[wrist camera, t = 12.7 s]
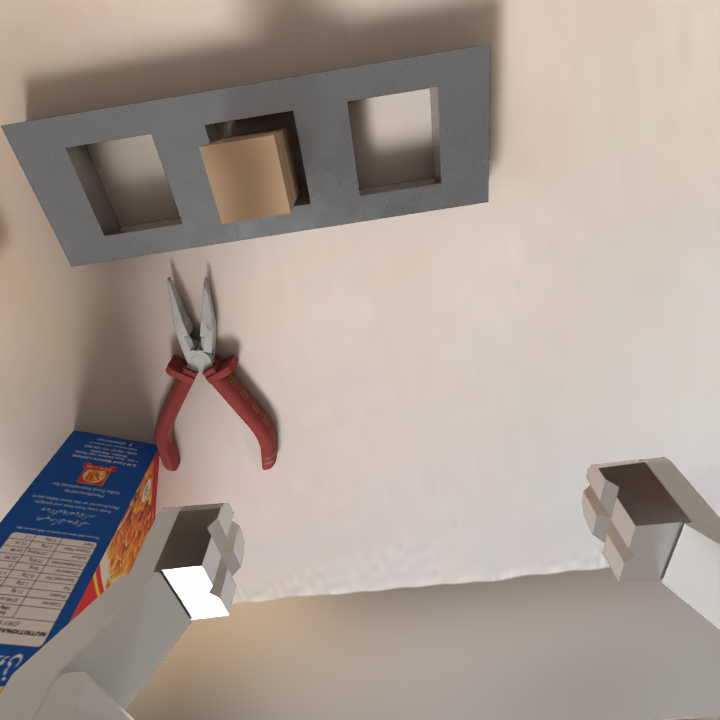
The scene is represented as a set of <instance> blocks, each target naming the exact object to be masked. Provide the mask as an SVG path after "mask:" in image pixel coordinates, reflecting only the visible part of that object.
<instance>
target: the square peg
mask: <svg viewBox="0 0 720 720" xmlns="http://www.w3.org/2000/svg"><path fill="white" fill-rule="evenodd" d="M199 149H200V152H201V156H202V159H203V162H204V166H205V169H206V172H207V176H208V179H209V182H210V186H211V189H212V192H213V196H214V199H215V202H216V206H217V209H218V212H219V216H220V219H221V222H222V224H224V223H231V222H237V221H244V220H250V219H256V218H263V217H269V216H276V215H282V214H289V213H291V211H292V209H293V206H294V204H295V201H296V199H297V196H298V194H299V192H300V189H301V188H300V183H299V178H298V173H297V168H296V163H295V158H294V153H293V148H292V143H291V138H290V133H289V128H288V127H286V128H280V129H274V130H267V131H261V132H255V133H249V134H243V135H236V136H231V137H228V138H225V139H222V140H219V141H216V142H213V143H210V144H207V145H204V146H201V147H199Z"/></svg>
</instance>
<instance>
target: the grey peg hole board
mask: <svg viewBox="0 0 720 720" xmlns="http://www.w3.org/2000/svg"><path fill="white" fill-rule="evenodd" d="M427 88H430V96H431V117H432V138H433V159H434V178H429V179H423V180H417V181H410V182H404V183H398V184H391V185H385V186H379V187H372V188H366V189H360V190H359V186H358V178H357V171H356V163H355V156H354V148H353V141H352V133H351V126H350V118H349V111H348V103H347V101H354V100H360V99H366V98H372V97H378V96H384V95H390V94H396V93H402V92H408V91H414V90H420V89H427ZM489 107H490V44H487V45H481V46H475V47H469V48H463V49H457V50H451V51H445V52H439V53H433V54H427V55H421V56H415V57H409V58H403V59H397V60H392V61H386V62H380V63H374V64H368V65H362V66H356V67H350V68H344V69H338V70H332V71H326V72H320V73H314V74H308V75H302V76H296V77H290V78H284V79H278V80H272V81H266V82H260V83H254V84H248V85H242V86H236V87H230V88H224V89H218V90H212V91H206V92H200V93H194V94H188V95H182V96H176V97H170V98H164V99H158V100H152V101H146V102H140V103H134V104H128V105H122V106H116V107H110V108H104V109H98V110H92V111H86V112H80V113H74V114H68V115H62V116H56V117H50V118H44V119H38V120H32V121H26V122H20V123H14V124H8V125H2V126H1V127H2V129H3V131H4V133H5V135H6V137H7V139H8V141H9V143H10V145H11V147H12V149H13V151H14V153H15V155H16V157H17V159H18V161H19V163H20V165H21V167H22V169H23V171H24V173H25V175H26V177H27V179H28V181H29V183H30V185H31V187H32V189H33V191H34V193H35V195H36V197H37V199H38V201H39V203H40V205H41V207H42V209H43V210H44V212H45V214H46V216H47V218H48V220H49V222H50V224H51V226H52V228H53V230H54V232H55V234H56V236H57V238H58V240H59V242H60V244H61V246H62V248H63V250H64V252H65V254H66V256H67V258H68V260H69V262H70V264H71V266H78V265H85V264H91V263H98V262H104V261H111V260H117V259H123V258H130V257H136V256H143V255H149V254H156V253H162V252H169V251H175V250H181V249H188V248H194V247H201V246H207V245H214V244H220V243H227V242H233V241H239V240H246V239H252V238H259V237H265V236H272V235H278V234H285V233H291V232H298V231H304V230H310V229H317V228H323V227H330V226H336V225H343V224H349V223H356V222H362V221H368V220H375V219H381V218H388V217H394V216H401V215H407V214H414V213H420V212H427V211H433V210H439V209H446V208H452V207H459V206H465V205H472V204H478V203H485V202H488V184H489ZM287 111H293V113H294V118H295V124H296V129H297V134H298V139H299V145H300V150H301V155H302V160H303V165H304V171H305V176H306V181H307V186H308V192H309V198H303V199H296V201H295V204H294V206H293V209H292V211H291V213H289V214H282V215H276V216H269V217H263V218H256V219H250V220H244V221H237V222H231V223H224V224H222V222H221V219H220V216H219V212H218V209H217V206H216V202H215V199H214V196H213V192H212V189H211V186H210V182H209V179H208V176H207V172H206V169H205V166H204V162H203V159H202V156H201V152H200V149H199V147H201V146H204V145H207V144H210V143H213V142H216V141H219V138H218V135H217V131H216V128H215V124H214V123H220V122H226V121H232V120H238V119H244V118H250V117H256V116H262V115H268V114H275V113H281V112H287ZM147 134H152V137H153V140H154V143H155V145H156V148H157V151H158V154H159V157H160V160H161V163H162V166H163V168H164V171H165V174H166V177H167V180H168V183H169V186H170V189H171V191H172V194H173V197H174V200H175V203H176V206H177V209H178V212H179V214H180V217H181V218H176V219H169V220H163V221H157V222H150V223H144V224H138V225H131V226H125V227H120V226H119V224H118V222H117V219H116V217H115V215H114V212H113V210H112V208H111V205H110V203H109V201H108V198H107V196H106V193H105V191H104V189H103V186H102V184H101V182H100V179H99V177H98V175H97V172H96V170H95V167H94V165H93V163H92V160H91V158H90V156H89V153H88V151H87V149H86V146H85V145H86V144H92V143H98V142H104V141H110V140H116V139H123V138H129V137H135V136H141V135H147Z"/></svg>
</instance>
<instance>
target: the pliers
mask: <svg viewBox="0 0 720 720" xmlns="http://www.w3.org/2000/svg"><path fill="white" fill-rule="evenodd" d="M168 286H169V293H170V299H171V306H172V313H173V319H174V326H175V331H176V335H177V338H178V341H179V344H180V346H181V349H182V351H183V354H184V356H185V358H186V359H183V358H181V357H179V356H176V355H174V356H173V358H172V359H171V361H170V362H169V364H168V366H167V368H166V372H167V374H169V375H170V376H172V377H175V378H177V380H176V382H175V384H174V386H173V389H172V391H171V393H170V395H169V397H168V399H167V402H166V404H165V406H164V408H163V410H162V413H161V415H160V417H159V420H158V423H157V426H156V431H155V442H156V445H157V448H158V451H159V454H160V457H161V460H162V462H163V465H164V467H165V468H166V469H167V470H171V471H176V470H177V469H178V467H179V464H180V456H179V453H178V449H177V446H176V443H175V439H174V434H173V427H174V422H175V419H176V416H177V414H178V412H179V410H180V408H181V406H182V404H183V402H184V400H185V398H186V396H187V394H188V392H189V390H190V388H191V386H192V383H193V381H194V379H195V377H196V375H197V373H198V371H203V370H204V371H203V373H202V374H203V375H204V376H205V377H206V380H207V381H208V382H209V383H210V384H212V385H213V386H214V387H215V389H216V390H217V391H218V392H219V393H220V394H221V395H222V397H223V398H224V399H225V400H226V401H227V402H228V404H229V405H230V406H231V407H232V408H233V409H234V410H235V412H236V413H237V414H238V415H239V416H240V417H241V418H242V420H243V421H244V422H245V423H246V424H247V425H248V426H249V428H250V429H251V430H252V431H253V433H254V434H255V436H256V437H257V439H258V441H259V444H260V447H261V456H262V468H263V470H267V469H270V468H272V467H273V465H274V464H275V462H276V458H277V453H276V433H275V430H274V427H273V425H272V423H271V421H270V419H269V418H268V416H267V415H266V413H265V412H264V411H263V409H262V408H261V407H260V406H259V405H258V403H257V402H256V401H255V400H254V399H253V397H252V396H251V395H250V394H249V392H248V391H247V390H246V389H245V388H244V386H243V385H242V384H241V383H240V382H239V380H238V379H237V378H236V377H235V376H234V374H233V373H232V372H233V371H234V370H235V368H236V365H237V363H238V359H237V357H236V356H235V355H232V356H230V357H228V358H226V359H224V360H222V358H221V357H220V356H218V357H215V351H216V330H217V327H216V320H215V315H214V310H213V305H212V300H211V295H210V289H209V284H208V279H207V278H205V282H204V293H203V304H202V315H201V328H200V336H201V342H200V341H197V340H194V339H192V338H191V337H190V333H191V332H192V330H193V328H194V326H193V324H192V322H191V319H190V317H189V314H188V312H187V310H186V308H185V306H184V304H183V302H182V300H181V298H180V296H179V294H178V292H177V290H176V288H175V286H174V284H173V282H172V280H171V278H170V277H169V278H168ZM214 357H215V358H214ZM197 370H198V371H197Z"/></svg>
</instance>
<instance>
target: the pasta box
mask: <svg viewBox="0 0 720 720" xmlns="http://www.w3.org/2000/svg"><path fill="white" fill-rule="evenodd" d="M158 467H159V451H158V448H157V445H154V444H149V443H143V442H137V441H131V440H125V439H120V438H114V437H108V436H102V435H96V434H91V433H85V432H79V431H73V432H72V434H71V435H70V436H69V437H68V439H67V440H66V441H65V442H64V444H63V445H62V446H61V447H60V449H59V450H58V451H57V452H56V454H55V455H54V456H53V457H52V459H51V460H50V461H49V462H48V464H47V465H46V466H45V467H44V469H43V470H42V471H41V472H40V474H39V475H38V476H37V477H36V479H35V480H34V481H33V482H32V484H31V485H30V486H29V487H28V489H27V490H26V491H25V492H24V494H23V495H22V496H21V497H20V499H19V500H18V501H17V502H16V504H15V505H14V506H13V507H12V509H11V510H10V511H9V512H8V514H7V515H6V516H5V517H4V519H3V520H2V521H1V522H0V694H1V692H2V691H3V689H4V687H5V686H6V684H7V682H8V681H9V679H10V677H11V675H12V674H13V673H14V672H15V671H17V670H18V669H19V668H20V667H21V666H22V665H23V664H24V663H25V662H27V661H28V660H29V659H30V658H31V657H32V656H33V655H34V654H35V653H37V652H38V651H39V650H40V649H41V648H42V647H43V646H44V645H45V644H46V643H48V642H49V641H50V640H51V639H52V638H53V637H54V636H55V635H56V634H58V633H59V632H60V631H61V630H62V629H63V628H64V627H65V626H66V625H68V624H69V623H70V622H71V621H72V620H73V619H74V618H75V617H76V616H77V615H79V614H80V613H81V612H82V611H83V610H84V609H85V608H86V607H87V606H89V605H90V604H91V603H92V602H93V601H94V600H95V599H96V598H97V597H99V596H100V595H101V594H102V593H103V592H104V591H105V590H106V589H107V588H109V587H110V586H111V585H112V584H113V583H114V582H115V581H116V580H117V579H118V578H120V577H121V576H122V575H127V574H129V573H130V571H131V569H132V566H133V564H134V562H135V560H136V558H137V556H138V554H139V552H140V550H141V548H142V545H143V543H144V541H145V539H146V537H147V535H148V533H149V531H150V529H151V527H152V525H153V522H154V520H155V508H156V495H157V481H158Z"/></svg>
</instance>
